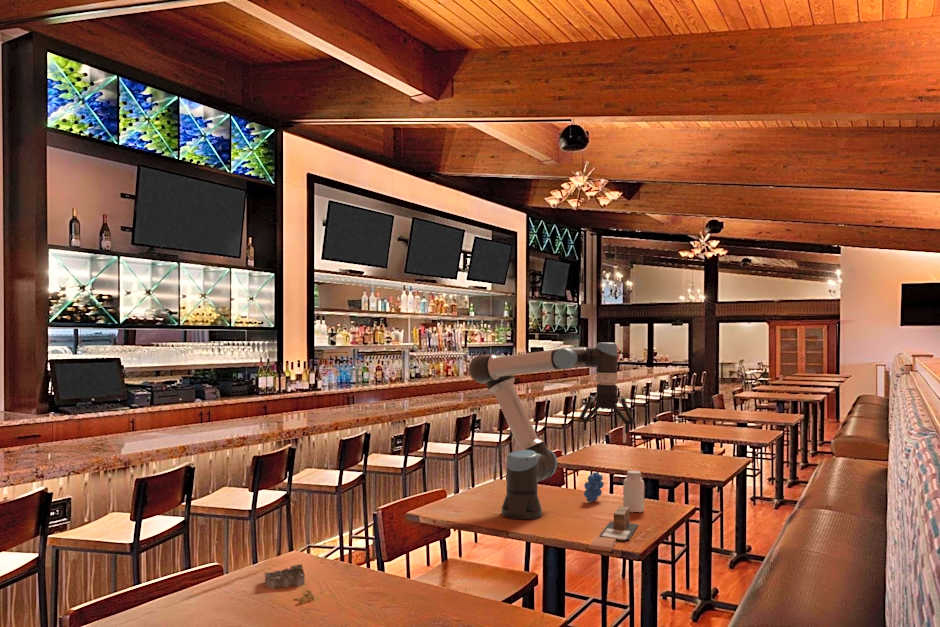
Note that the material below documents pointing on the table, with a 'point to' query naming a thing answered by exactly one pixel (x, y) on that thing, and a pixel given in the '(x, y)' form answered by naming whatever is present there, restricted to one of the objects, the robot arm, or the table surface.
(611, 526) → the mat
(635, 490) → the pill bottle
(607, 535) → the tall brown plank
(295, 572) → the grey textured block
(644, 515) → the table surface
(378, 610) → the table surface
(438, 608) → the table surface
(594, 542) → the tile
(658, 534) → the table surface
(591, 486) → the grapes
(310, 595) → the olive irregular clump
